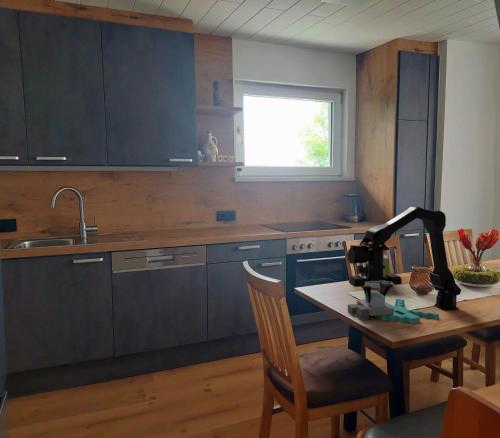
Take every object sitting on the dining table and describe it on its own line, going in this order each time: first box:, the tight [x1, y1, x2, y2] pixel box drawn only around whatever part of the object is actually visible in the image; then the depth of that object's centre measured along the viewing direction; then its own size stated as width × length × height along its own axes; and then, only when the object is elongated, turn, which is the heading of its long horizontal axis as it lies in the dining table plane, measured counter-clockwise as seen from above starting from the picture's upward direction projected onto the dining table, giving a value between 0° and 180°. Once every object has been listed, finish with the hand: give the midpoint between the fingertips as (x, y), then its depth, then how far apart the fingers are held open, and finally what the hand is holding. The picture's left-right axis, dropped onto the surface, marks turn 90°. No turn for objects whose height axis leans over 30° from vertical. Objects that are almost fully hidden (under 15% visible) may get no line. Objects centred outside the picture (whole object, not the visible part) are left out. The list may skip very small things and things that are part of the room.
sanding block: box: [356, 290, 394, 317], centre depth 149 cm, size 9×12×6 cm
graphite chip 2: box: [355, 306, 370, 321], centre depth 146 cm, size 4×4×3 cm
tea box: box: [363, 253, 390, 289], centre depth 192 cm, size 15×10×15 cm, turn 172°
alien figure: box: [374, 298, 440, 325], centre depth 151 cm, size 20×2×20 cm
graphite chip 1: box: [347, 303, 360, 316], centre depth 152 cm, size 4×4×3 cm
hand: (374, 302), depth 149 cm, fingers closed on sanding block, 4 cm apart
